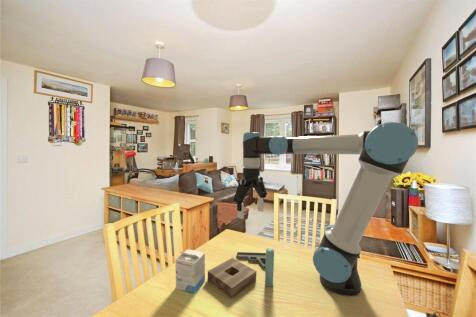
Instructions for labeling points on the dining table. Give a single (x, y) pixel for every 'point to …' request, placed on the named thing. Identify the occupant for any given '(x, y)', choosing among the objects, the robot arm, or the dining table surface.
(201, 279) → the ink box
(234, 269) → the socket block
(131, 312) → the dining table surface
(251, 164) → the robot arm
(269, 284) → the peg
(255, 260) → the handgun
